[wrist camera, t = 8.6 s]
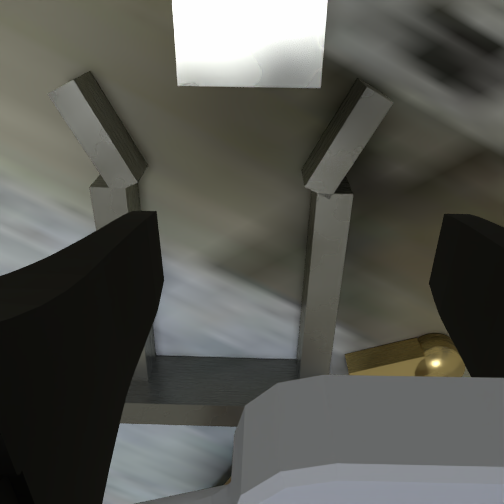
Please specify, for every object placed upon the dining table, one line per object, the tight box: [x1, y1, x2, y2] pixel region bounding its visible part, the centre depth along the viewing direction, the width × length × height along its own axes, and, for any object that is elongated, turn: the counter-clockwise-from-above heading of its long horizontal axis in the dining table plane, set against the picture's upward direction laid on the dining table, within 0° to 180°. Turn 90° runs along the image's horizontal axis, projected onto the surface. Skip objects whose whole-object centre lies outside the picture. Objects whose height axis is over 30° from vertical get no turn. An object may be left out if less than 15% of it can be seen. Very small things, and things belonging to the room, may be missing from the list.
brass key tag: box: [345, 333, 465, 377], centre depth 26 cm, size 6×3×2 cm, turn 109°
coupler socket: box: [48, 71, 393, 427], centre depth 22 cm, size 13×17×4 cm
